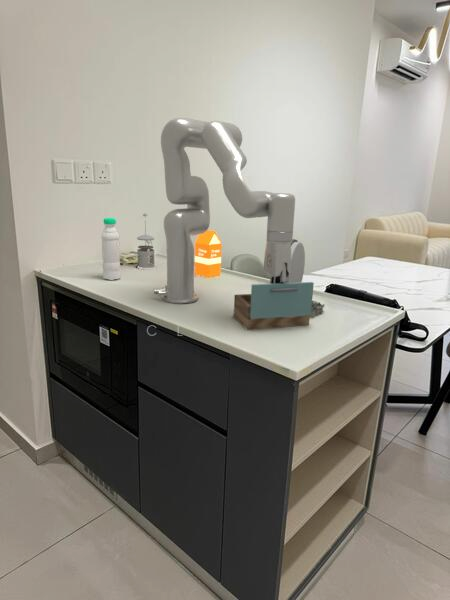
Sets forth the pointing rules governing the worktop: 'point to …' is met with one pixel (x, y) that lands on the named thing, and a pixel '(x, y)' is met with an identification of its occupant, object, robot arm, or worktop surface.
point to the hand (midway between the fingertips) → (275, 297)
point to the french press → (145, 251)
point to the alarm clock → (296, 262)
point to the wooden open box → (243, 316)
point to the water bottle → (110, 250)
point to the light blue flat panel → (281, 300)
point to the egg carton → (316, 309)
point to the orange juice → (208, 255)
